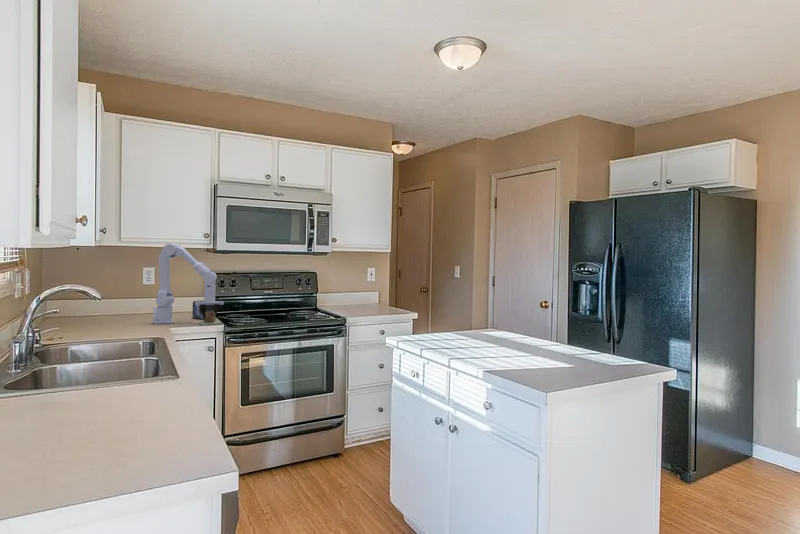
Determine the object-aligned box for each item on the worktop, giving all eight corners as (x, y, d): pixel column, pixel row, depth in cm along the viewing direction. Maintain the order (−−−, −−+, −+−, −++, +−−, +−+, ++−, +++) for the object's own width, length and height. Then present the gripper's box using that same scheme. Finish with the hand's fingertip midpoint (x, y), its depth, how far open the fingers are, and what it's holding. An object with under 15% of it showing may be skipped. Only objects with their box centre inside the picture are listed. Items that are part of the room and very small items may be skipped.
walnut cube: (205, 322, 267) (205, 313, 267) (203, 321, 271) (203, 312, 271) (215, 321, 270) (215, 312, 270) (212, 320, 274) (212, 311, 274)
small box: (191, 318, 289) (191, 301, 289) (200, 317, 295) (201, 300, 295) (203, 320, 284) (204, 302, 284) (212, 319, 290) (213, 301, 290)
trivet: (202, 325, 264) (202, 323, 264) (198, 323, 271) (198, 321, 271) (219, 324, 269) (219, 322, 269) (215, 322, 276) (215, 320, 276)
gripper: (197, 294, 262) (197, 319, 263) (225, 293, 271) (224, 318, 271) (194, 293, 268) (194, 318, 268) (221, 293, 277) (221, 316, 277)
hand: (209, 318), depth 270 cm, fingers closed on walnut cube, 5 cm apart
